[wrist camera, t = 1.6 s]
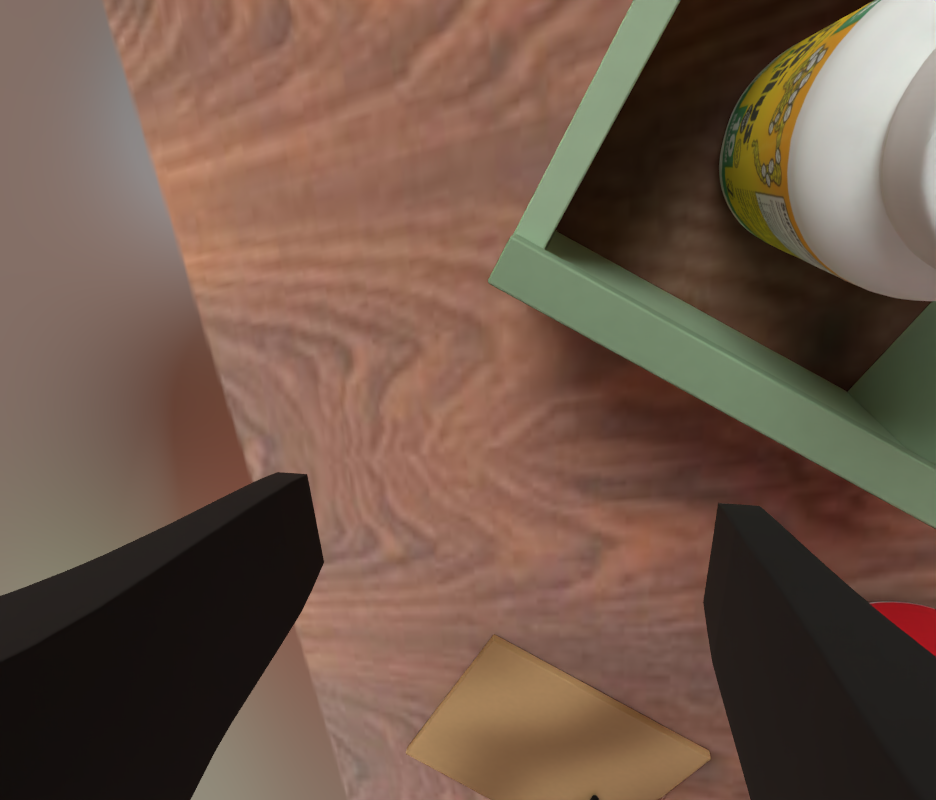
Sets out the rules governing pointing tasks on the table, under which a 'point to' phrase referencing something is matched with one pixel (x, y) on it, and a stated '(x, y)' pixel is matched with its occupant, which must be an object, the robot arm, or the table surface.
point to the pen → (594, 797)
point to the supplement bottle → (845, 150)
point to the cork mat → (548, 736)
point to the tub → (710, 341)
